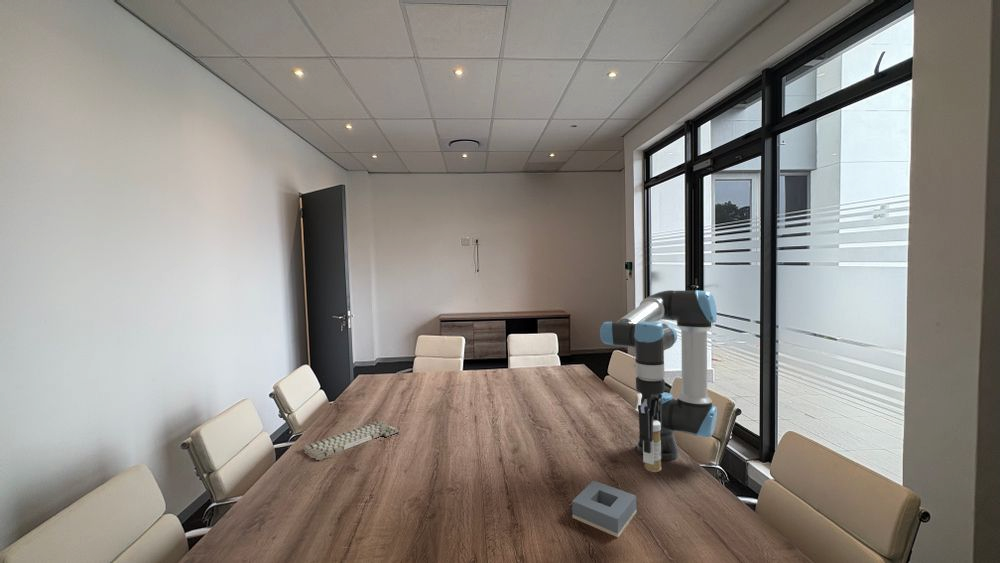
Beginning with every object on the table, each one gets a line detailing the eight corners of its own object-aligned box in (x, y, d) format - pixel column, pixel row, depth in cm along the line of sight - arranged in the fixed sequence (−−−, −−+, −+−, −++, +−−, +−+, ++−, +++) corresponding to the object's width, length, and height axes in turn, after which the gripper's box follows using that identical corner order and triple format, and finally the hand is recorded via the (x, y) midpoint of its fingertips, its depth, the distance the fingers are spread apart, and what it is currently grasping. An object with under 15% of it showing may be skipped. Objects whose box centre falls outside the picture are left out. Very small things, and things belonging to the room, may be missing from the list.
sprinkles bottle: (648, 462, 110) (647, 417, 110) (664, 467, 107) (663, 421, 107) (641, 469, 107) (640, 422, 107) (658, 474, 104) (656, 426, 104)
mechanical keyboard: (319, 466, 148) (319, 458, 148) (300, 452, 161) (299, 444, 161) (401, 434, 177) (401, 427, 177) (379, 425, 189) (379, 418, 189)
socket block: (593, 495, 123) (593, 480, 123) (636, 512, 114) (636, 495, 114) (572, 517, 112) (572, 501, 112) (618, 537, 104) (617, 519, 103)
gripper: (646, 368, 116) (648, 444, 116) (625, 382, 102) (627, 468, 103) (672, 372, 111) (674, 450, 112) (653, 387, 98) (655, 476, 98)
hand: (651, 458), depth 107 cm, fingers closed on sprinkles bottle, 4 cm apart
